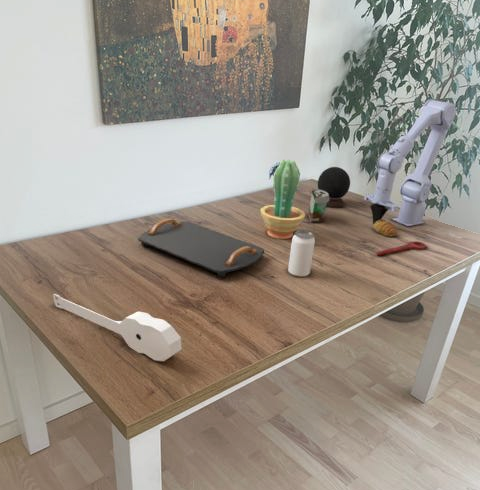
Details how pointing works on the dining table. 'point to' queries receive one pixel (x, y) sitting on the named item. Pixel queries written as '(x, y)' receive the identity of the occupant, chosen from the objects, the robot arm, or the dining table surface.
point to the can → (301, 253)
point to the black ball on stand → (334, 185)
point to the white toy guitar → (134, 330)
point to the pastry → (385, 228)
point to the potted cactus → (283, 201)
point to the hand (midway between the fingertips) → (375, 224)
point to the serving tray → (201, 246)
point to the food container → (317, 205)
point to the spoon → (403, 248)
